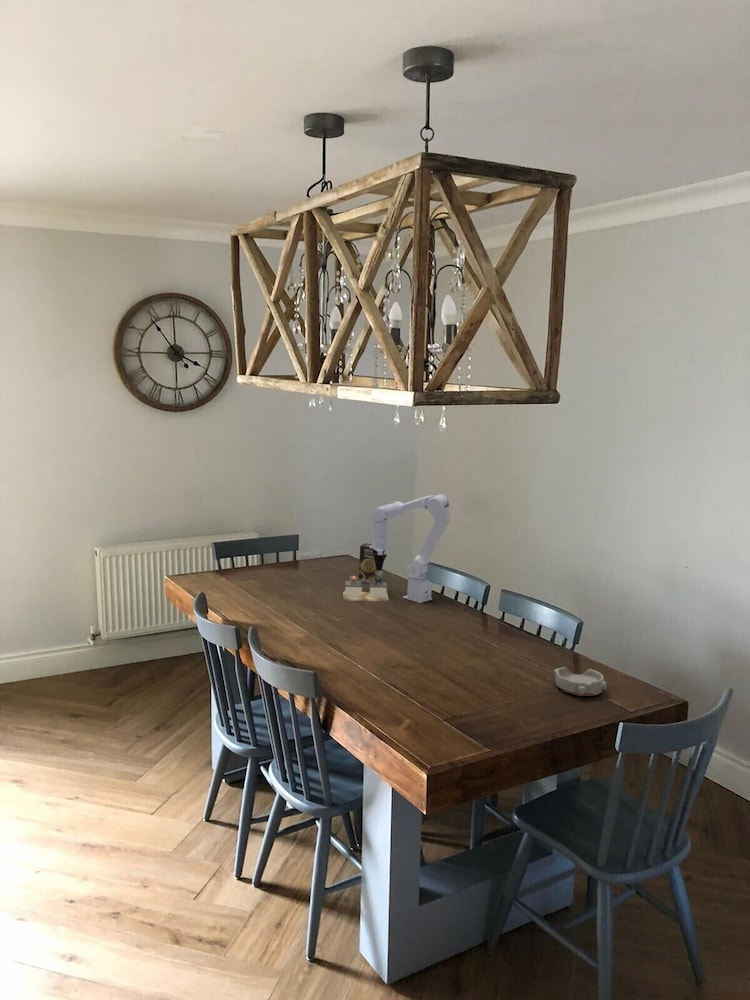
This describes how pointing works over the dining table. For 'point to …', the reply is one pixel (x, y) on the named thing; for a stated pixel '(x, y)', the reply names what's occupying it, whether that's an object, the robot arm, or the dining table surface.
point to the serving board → (364, 598)
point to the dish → (580, 681)
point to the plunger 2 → (378, 579)
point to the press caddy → (356, 589)
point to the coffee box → (367, 564)
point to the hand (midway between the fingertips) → (378, 568)
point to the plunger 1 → (354, 579)
